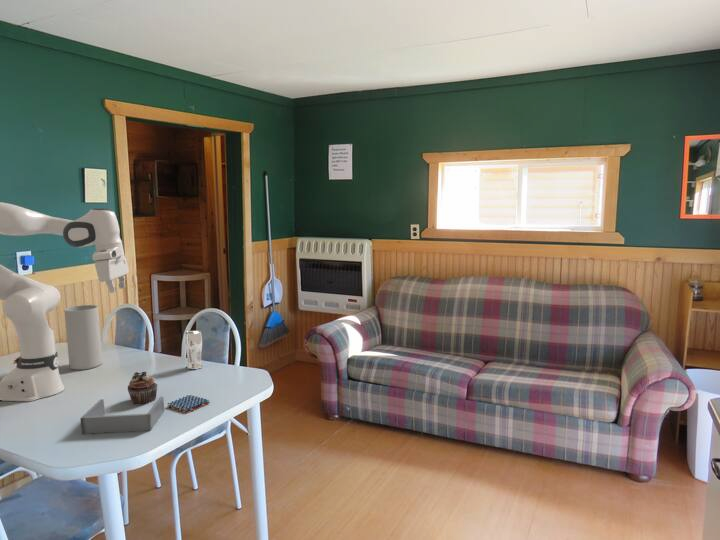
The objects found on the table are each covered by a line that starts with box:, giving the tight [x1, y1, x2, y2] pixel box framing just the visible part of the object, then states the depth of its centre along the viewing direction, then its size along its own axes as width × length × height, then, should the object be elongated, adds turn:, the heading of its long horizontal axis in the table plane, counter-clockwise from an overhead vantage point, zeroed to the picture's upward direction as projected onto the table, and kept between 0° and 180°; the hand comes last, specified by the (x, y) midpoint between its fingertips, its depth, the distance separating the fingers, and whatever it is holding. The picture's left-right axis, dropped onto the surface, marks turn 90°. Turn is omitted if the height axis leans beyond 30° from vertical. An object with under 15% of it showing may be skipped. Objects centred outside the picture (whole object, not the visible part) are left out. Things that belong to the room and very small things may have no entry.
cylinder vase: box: [64, 304, 103, 371], centre depth 224 cm, size 12×12×25 cm
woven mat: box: [166, 394, 211, 414], centre depth 180 cm, size 10×11×2 cm
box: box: [80, 396, 165, 435], centre depth 167 cm, size 20×15×5 cm
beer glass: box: [183, 330, 203, 370], centre depth 220 cm, size 7×7×15 cm
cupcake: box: [127, 371, 158, 405], centre depth 185 cm, size 10×10×10 cm
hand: (117, 290), depth 193 cm, fingers open, 8 cm apart
